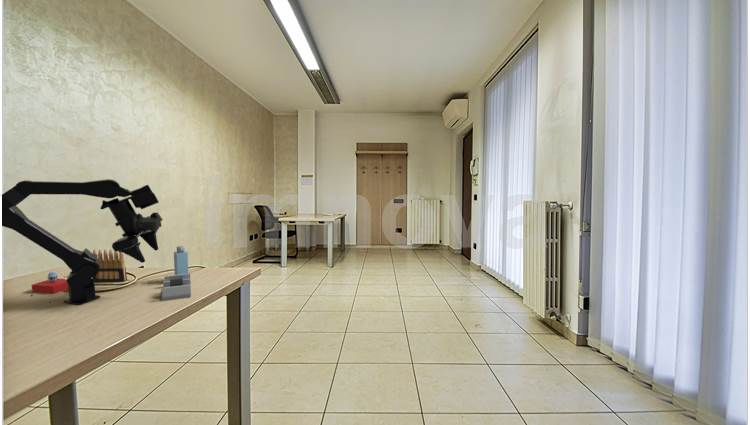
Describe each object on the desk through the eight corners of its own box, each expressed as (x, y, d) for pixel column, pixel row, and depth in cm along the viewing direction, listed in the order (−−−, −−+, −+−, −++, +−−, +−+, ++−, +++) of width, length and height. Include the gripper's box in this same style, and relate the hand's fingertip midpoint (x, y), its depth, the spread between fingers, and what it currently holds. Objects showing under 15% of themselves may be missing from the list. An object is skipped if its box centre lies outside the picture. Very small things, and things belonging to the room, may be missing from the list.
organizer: (162, 300, 108) (161, 282, 107) (165, 286, 120) (164, 270, 120) (190, 297, 112) (190, 279, 111) (190, 283, 124) (190, 267, 123)
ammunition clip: (127, 280, 125) (125, 248, 124) (124, 281, 124) (122, 250, 122) (95, 280, 124) (93, 248, 122) (92, 282, 122) (89, 250, 121)
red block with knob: (74, 287, 117) (73, 269, 116) (54, 294, 110) (52, 276, 110) (53, 285, 118) (52, 268, 117) (32, 292, 111) (30, 274, 110)
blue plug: (178, 282, 124) (176, 248, 123) (174, 280, 127) (173, 246, 125) (188, 280, 127) (187, 247, 125) (185, 278, 130) (184, 245, 128)
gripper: (134, 217, 102) (160, 261, 107) (162, 199, 119) (183, 237, 125) (98, 229, 101) (126, 272, 107) (132, 209, 119) (154, 247, 124)
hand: (150, 255), depth 116 cm, fingers open, 9 cm apart
